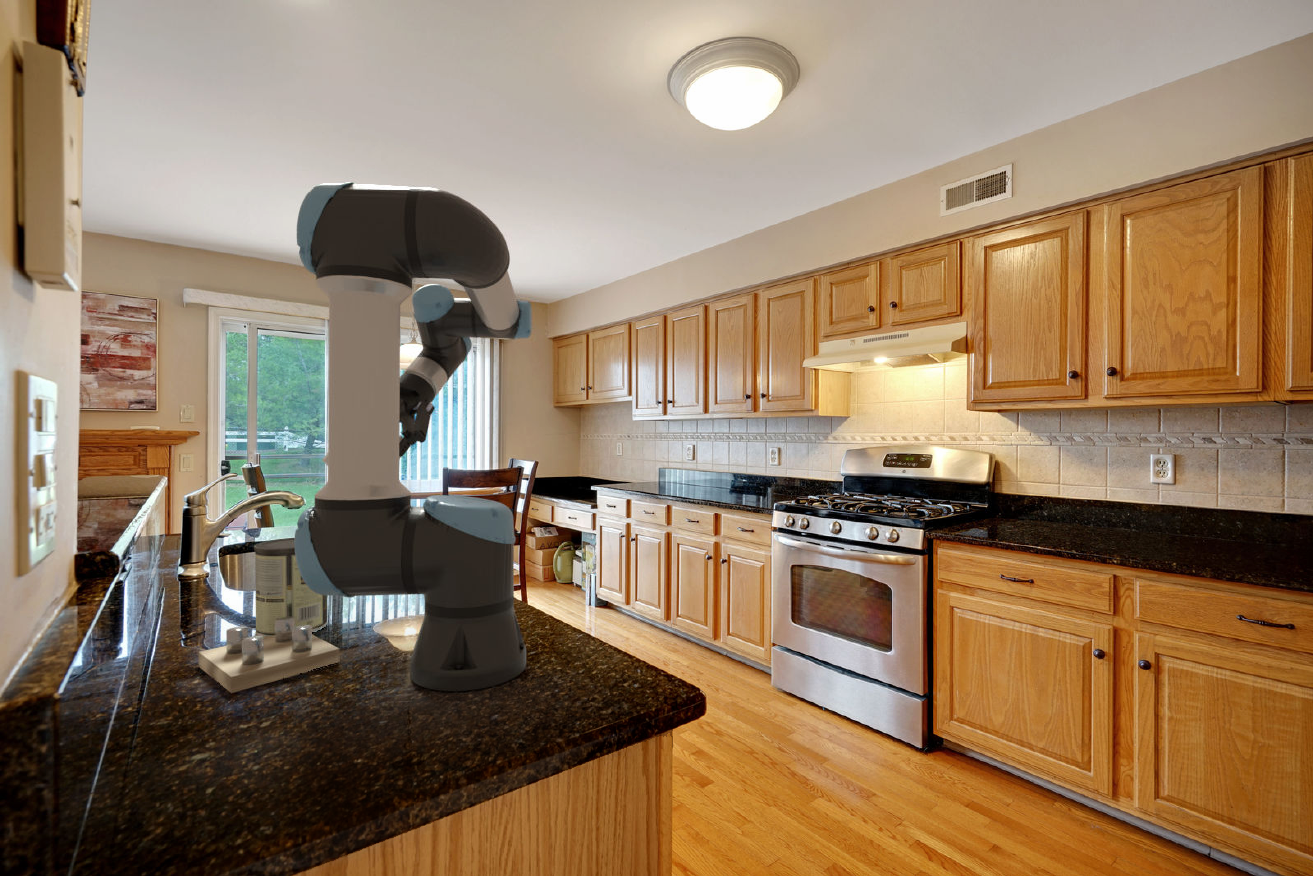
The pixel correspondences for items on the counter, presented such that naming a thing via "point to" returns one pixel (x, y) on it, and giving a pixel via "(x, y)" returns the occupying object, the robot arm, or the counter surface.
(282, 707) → the counter surface
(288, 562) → the coffee can
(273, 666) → the stand plate
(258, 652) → the peg set
